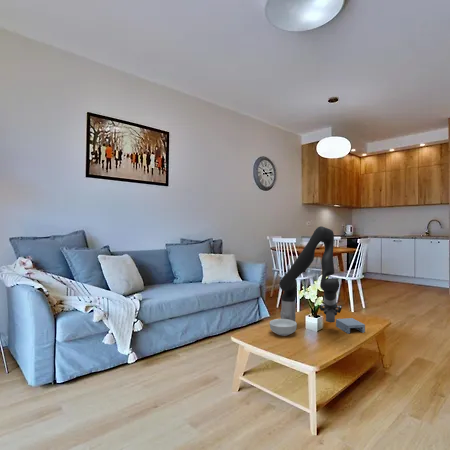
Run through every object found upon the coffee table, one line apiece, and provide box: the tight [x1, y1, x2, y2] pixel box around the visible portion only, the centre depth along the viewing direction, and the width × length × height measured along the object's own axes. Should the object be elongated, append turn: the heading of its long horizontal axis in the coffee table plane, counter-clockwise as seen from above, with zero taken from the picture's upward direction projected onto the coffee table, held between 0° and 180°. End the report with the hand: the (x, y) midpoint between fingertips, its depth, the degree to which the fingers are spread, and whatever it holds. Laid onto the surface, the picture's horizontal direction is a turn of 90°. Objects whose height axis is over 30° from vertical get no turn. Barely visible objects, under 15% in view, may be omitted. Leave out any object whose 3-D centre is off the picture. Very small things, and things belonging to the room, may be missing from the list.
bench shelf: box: [335, 317, 366, 334], centre depth 200 cm, size 12×14×5 cm
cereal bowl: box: [269, 318, 298, 337], centre depth 193 cm, size 17×17×7 cm
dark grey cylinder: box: [325, 310, 336, 323], centre depth 199 cm, size 6×6×9 cm
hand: (330, 313), depth 201 cm, fingers closed on dark grey cylinder, 5 cm apart
